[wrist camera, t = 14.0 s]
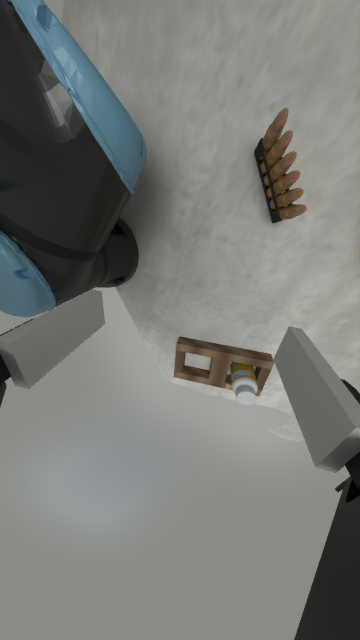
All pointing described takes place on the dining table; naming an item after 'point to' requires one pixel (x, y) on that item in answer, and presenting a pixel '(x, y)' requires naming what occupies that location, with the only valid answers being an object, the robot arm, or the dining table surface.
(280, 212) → the ammunition clip
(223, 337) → the dining table surface
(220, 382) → the rack
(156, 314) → the dining table surface
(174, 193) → the dining table surface
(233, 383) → the supplement bottle
